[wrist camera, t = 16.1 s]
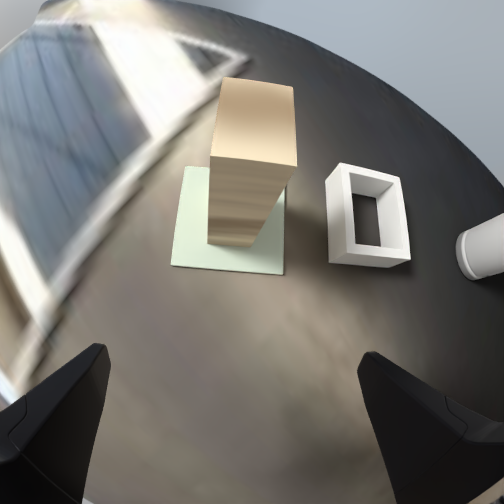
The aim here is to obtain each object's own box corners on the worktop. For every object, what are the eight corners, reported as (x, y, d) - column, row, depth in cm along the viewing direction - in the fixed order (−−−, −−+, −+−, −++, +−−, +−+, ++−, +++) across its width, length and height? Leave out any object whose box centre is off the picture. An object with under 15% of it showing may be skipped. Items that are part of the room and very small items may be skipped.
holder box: (388, 267, 25) (410, 259, 22) (328, 262, 24) (346, 252, 21) (381, 192, 27) (399, 177, 24) (325, 181, 26) (339, 162, 23)
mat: (281, 274, 23) (283, 274, 23) (171, 265, 22) (170, 264, 22) (283, 178, 25) (284, 176, 25) (185, 167, 24) (185, 165, 24)
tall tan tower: (250, 247, 23) (296, 166, 11) (207, 243, 22) (210, 155, 11) (253, 192, 24) (292, 87, 12) (213, 188, 24) (223, 77, 12)
